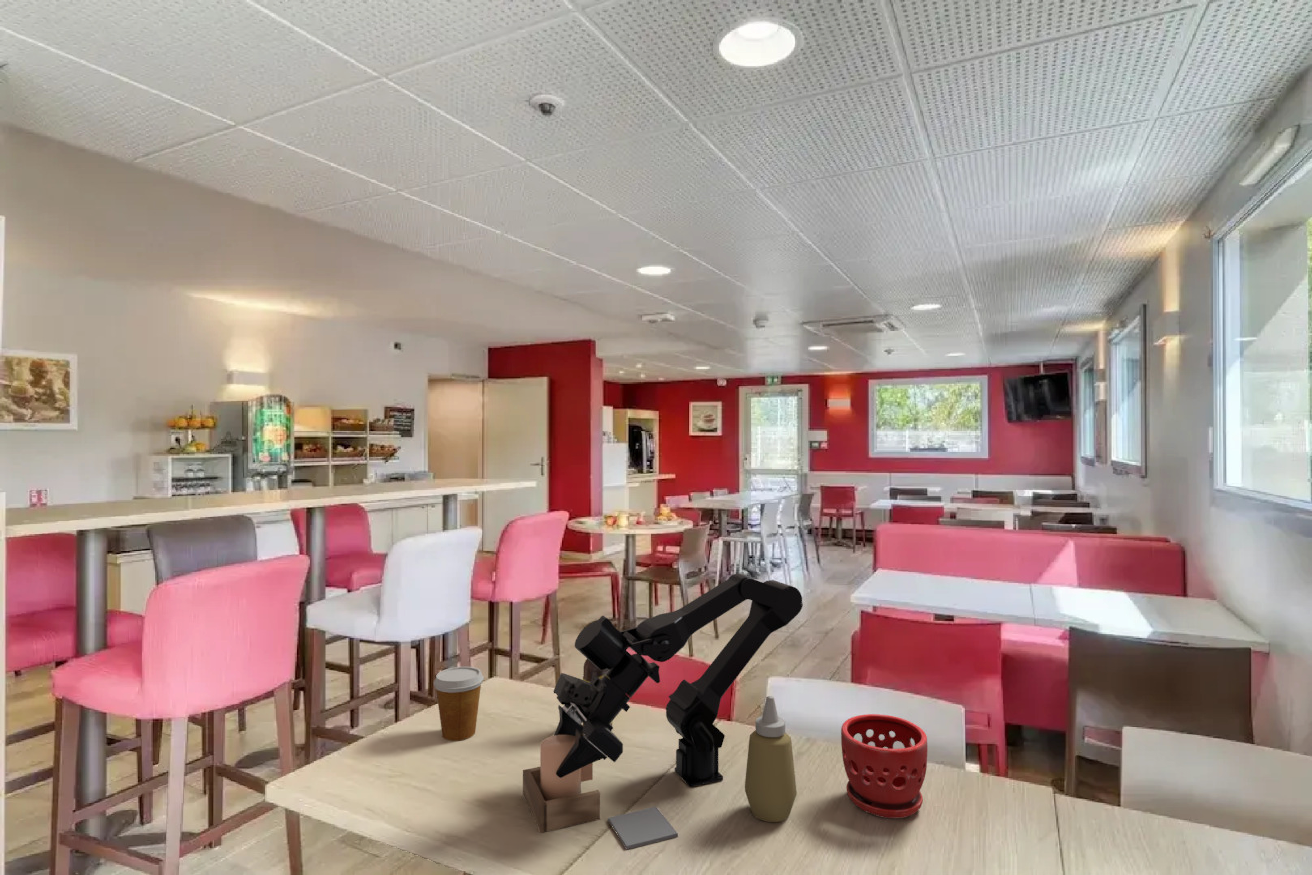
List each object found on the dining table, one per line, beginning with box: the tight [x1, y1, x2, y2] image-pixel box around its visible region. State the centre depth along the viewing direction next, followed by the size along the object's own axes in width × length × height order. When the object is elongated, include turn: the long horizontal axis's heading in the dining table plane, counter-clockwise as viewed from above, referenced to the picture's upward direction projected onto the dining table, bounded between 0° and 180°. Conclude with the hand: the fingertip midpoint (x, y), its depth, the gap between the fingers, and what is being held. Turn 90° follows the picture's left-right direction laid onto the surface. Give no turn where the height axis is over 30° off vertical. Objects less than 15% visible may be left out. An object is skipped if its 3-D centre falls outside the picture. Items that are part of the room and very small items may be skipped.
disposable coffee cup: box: [433, 666, 485, 742], centre depth 135 cm, size 10×10×12 cm
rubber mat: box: [607, 806, 679, 850], centre depth 102 cm, size 8×8×1 cm
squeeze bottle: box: [744, 695, 798, 823], centre depth 107 cm, size 8×8×18 cm
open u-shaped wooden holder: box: [522, 766, 601, 834], centre depth 109 cm, size 9×12×4 cm
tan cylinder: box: [539, 735, 594, 801], centre depth 109 cm, size 8×6×10 cm
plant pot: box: [840, 713, 929, 819], centre depth 109 cm, size 13×13×12 cm
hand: (552, 766), depth 108 cm, fingers closed on tan cylinder, 6 cm apart
